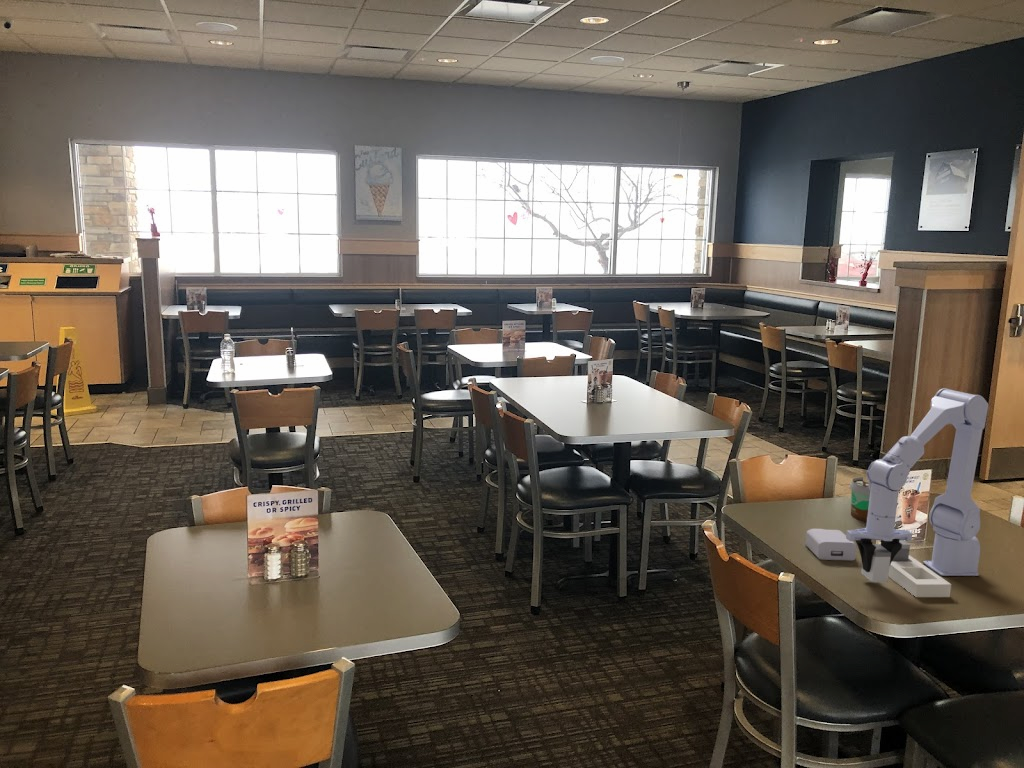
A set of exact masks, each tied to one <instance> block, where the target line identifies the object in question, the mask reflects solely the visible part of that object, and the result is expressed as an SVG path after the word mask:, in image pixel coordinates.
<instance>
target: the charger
mask: <svg viewBox="0 0 1024 768" xmlns="http://www.w3.org/2000/svg"><path fill="white" fill-rule="evenodd" d="M804 545H806V547H807V548H808V549H809V550H810V551H811V552H812V553H813V555H815V556H816V557H817V558H818V560H825V561H826V560H829V561H830V560H831V561H854V560H855V559H856V553H857V548H858V546H857V543H856V542H855V541H849V540H848V539H846V534H845V533H844V532H843V531H842V530H839V529H824V528H810V529H808V530H806V532H805V542H804Z"/></svg>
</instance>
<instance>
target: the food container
mask: <svg viewBox="0 0 1024 768" xmlns="http://www.w3.org/2000/svg"><path fill="white" fill-rule="evenodd" d="M868 487H869V482H866V481H865V480H864V477H860V476H859V477H858V476H857V477H854V478H852V479H851V482H850V484H849V489H850V490H851V499H850V516H851V517H852V518H854V519H856V520H858V521H862V522H866V523H867V516H868V508H869V499H870V490H869V488H868Z"/></svg>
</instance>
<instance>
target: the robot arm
mask: <svg viewBox="0 0 1024 768" xmlns="http://www.w3.org/2000/svg"><path fill="white" fill-rule="evenodd" d="M988 410H989V403H988V402H987V400H986V398H984V397H983V396H982V395H980V394H972V393H967V392H962V391H957V390H954V389H950V388H947V387H944V388H940V389H939V390H938V391H936V393H935V395H934V396H933V397H932V398H931V400H930V409H929V411H928V412H927V413H926V414H925V416H924V417H923V418H922V420H921V421H920V422H919V424H917V426H916V428H915V429H914V430H913V432H912V433H911V434H910V435H907V436H906V435H905V436H902V437H901V438H899V439H898V441H897V442H896V443H895V444H894V445H893V446H892V448H890V450H888V451H887V453H886V454H885V455H884V456H883V457H882V458H879V459H876V460H874V461H872V462H871V463H870V464H869V466H868V469H867V470H866V472H865V475H866V480H867V482H868V483H869V487H868V488H869V490H870V499H869V508H868V516H867V522H866V526H865V527H863V528H857V529H856V528H855V529H849V530H848V529H847V530H846V534H845V535H846V539H848V540H849V541H853V542H855V544H856V545H857V548H858V551H859V555H860V558H861V568H862V567H863V569H864V570H865V571H866V572H870V569H871V563H872V557H873V554H874V551H875V549H876V546H874V545H873V544H874V543H873V541H880V544H881V546H883V547H884V548H885V549H887V550H888V551H889V552H891V557H890V564H891V562H892V560H893V558H894V557H895V555H896V554H897V553H898V552H899V550H900V549H901V548H902V544H901V543H900V542H899V540H904V541H906V542H913V541H912V539H913V533H912V532H911V531H909V530H906V529H895V525H896V517H897V516H896V515H897V507H898V501H899V500H898V499H899V494H900V490H901V489H902V488H903V487H904V486H905V485H906V483H907V481H908V476H909V475H910V473H911V469H912V468H913V466H914V465H915V464H916V463H917V462H919V460H920V459H921V457H923V455H924V454H925V447H924V446H925V445H926V444H927V443H928V442H929V441H930V440H931V439H932V438H934V437H935V436H936V435H937V434H938V433H939V432H940V431H941V430H943V428H944V427H945V426H947V425H952V427H954V429H955V435H954V439H953V440H954V441H953V446H952V452H951V458H950V464H949V470H948V476H947V481H946V488H945V493H942V494H940V495H938V496H936V497H934V502H933V505H932V507H931V509H930V511H929V515H928V516H929V517H928V520H929V523H930V525H931V526H932V530H933V531H934V533H935V534H934V541H933V549H932V555H931V560H923V562H922V564H923V565H925V566H926V567H927V568H929V569H930V570H932V571H933V572H935V573H936V574H938V575H939V576H941V577H942V576H945V577H946V576H947V577H948V576H949V577H950V576H951V577H952V576H953V577H954V576H956V577H960V576H964V577H966V576H967V577H968V576H969V577H970V576H972V577H975V576H979V575H980V573H979V572H978V569H979V568H978V567H979V560H980V554H981V544H980V541H979V539H978V537H976V536H977V534H978V533H979V531H980V528H981V518H980V517H981V516H980V513H981V507H979V505H978V504H977V503H976V502H975V501H974V500H973V498H972V491H973V485H974V479H975V473H976V467H977V462H978V457H979V453H980V446H981V440H982V435H983V430H984V429H985V427H986V421H987V415H988ZM889 566H890V565H889Z"/></svg>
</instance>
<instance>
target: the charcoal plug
mask: <svg viewBox="0 0 1024 768" xmlns="http://www.w3.org/2000/svg"><path fill="white" fill-rule="evenodd" d="M899 542H900V543H901V544H902V548H901V549H900V550H899V552H898V553H897V554H896V555H895V557H894V558H893V560H892V562H908V557H909V555H910V548H911V544H910V543H909V542H908V541H906V540H899Z"/></svg>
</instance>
